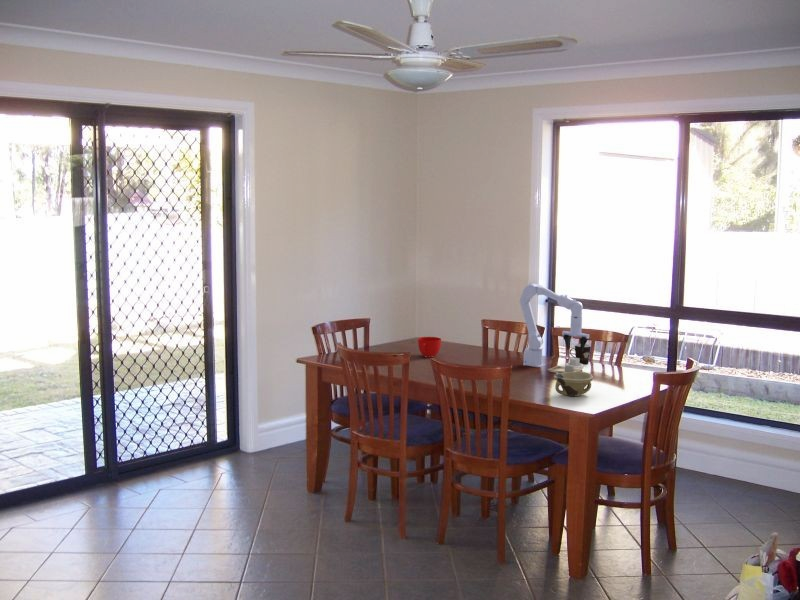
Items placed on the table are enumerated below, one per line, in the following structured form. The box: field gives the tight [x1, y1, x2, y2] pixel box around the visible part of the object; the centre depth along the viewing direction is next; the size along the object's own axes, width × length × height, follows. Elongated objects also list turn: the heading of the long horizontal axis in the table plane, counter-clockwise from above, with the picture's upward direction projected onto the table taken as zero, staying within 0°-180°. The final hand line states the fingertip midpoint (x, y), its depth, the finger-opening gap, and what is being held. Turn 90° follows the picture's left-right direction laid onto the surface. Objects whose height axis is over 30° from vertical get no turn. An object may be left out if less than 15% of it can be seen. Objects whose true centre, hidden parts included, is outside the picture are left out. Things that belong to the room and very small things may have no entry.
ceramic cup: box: [417, 336, 442, 358], centre depth 449 cm, size 13×17×10 cm
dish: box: [565, 362, 585, 370], centre depth 423 cm, size 9×9×2 cm
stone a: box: [568, 356, 580, 366], centre depth 422 cm, size 4×4×5 cm
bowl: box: [553, 371, 594, 397], centre depth 369 cm, size 18×18×10 cm
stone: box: [564, 364, 574, 372], centre depth 410 cm, size 4×3×4 cm
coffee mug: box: [569, 343, 592, 366], centre depth 435 cm, size 12×9×10 cm
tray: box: [547, 365, 583, 374], centre depth 414 cm, size 14×11×2 cm
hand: (575, 350), depth 422 cm, fingers open, 7 cm apart
